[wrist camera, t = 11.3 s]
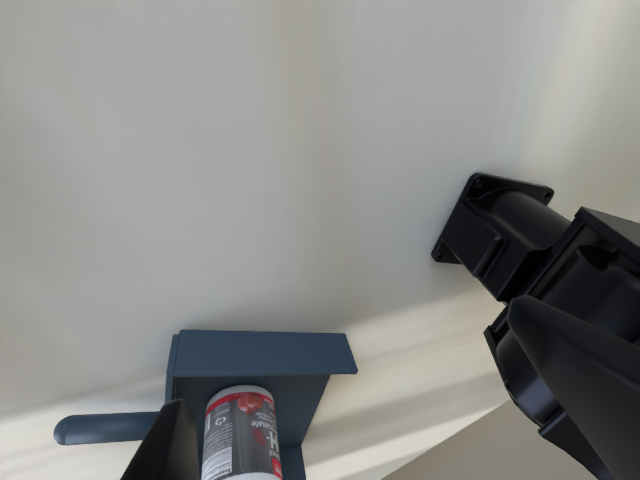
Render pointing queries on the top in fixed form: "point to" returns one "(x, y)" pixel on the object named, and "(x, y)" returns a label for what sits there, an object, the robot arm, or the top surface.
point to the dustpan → (231, 370)
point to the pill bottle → (241, 436)
